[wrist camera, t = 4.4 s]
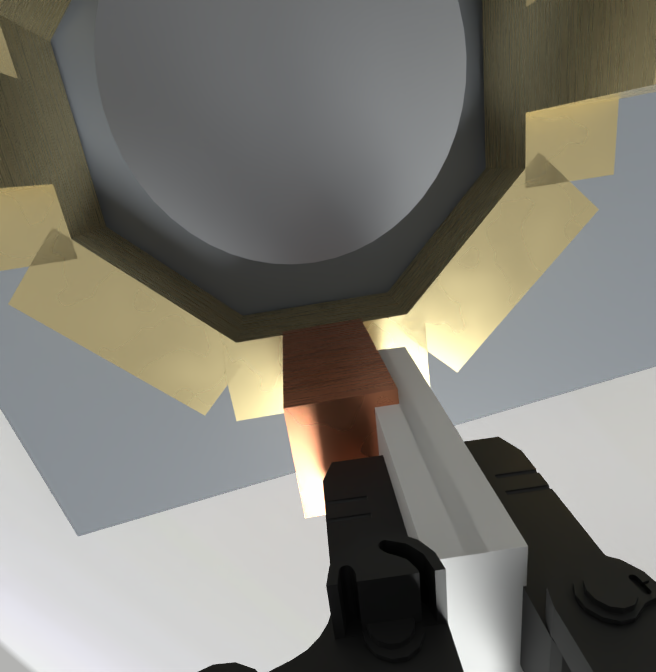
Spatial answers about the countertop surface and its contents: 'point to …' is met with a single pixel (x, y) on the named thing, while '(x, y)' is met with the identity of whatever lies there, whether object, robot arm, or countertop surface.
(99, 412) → the slate plate
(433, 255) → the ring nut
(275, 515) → the countertop surface
